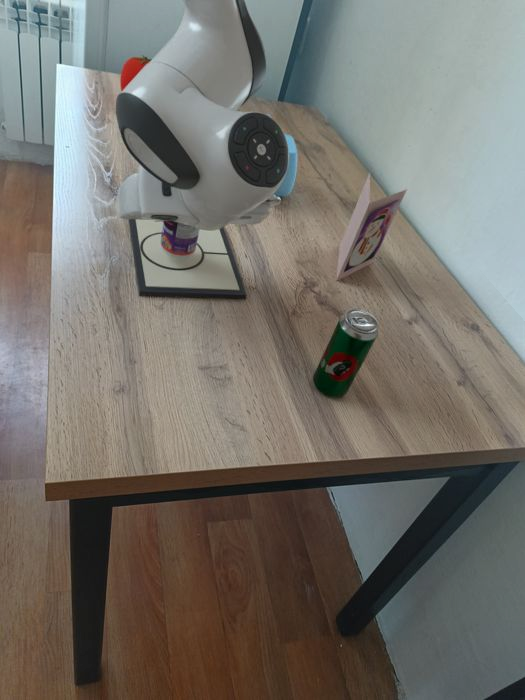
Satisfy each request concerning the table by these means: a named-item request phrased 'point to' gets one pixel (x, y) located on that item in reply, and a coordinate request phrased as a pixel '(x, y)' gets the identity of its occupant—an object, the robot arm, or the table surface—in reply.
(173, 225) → the pill bottle
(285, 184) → the teapot
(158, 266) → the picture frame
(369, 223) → the greeting card
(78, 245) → the table surface
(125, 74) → the tomato
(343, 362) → the soda can
